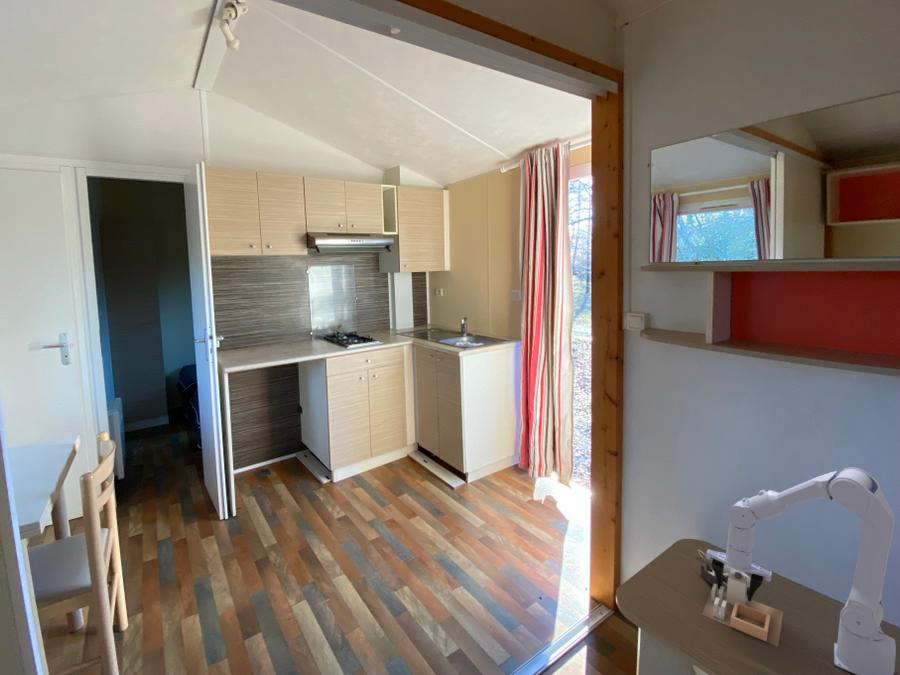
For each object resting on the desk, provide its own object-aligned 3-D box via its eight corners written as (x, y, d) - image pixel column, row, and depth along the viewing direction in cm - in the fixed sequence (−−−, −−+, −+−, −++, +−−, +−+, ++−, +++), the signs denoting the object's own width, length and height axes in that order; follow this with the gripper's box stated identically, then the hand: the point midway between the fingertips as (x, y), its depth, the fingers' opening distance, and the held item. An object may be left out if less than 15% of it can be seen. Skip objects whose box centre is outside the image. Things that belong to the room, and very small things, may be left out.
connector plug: (746, 600, 121) (748, 573, 120) (743, 609, 117) (746, 580, 117) (728, 594, 123) (730, 567, 122) (726, 602, 120) (728, 574, 119)
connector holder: (769, 623, 112) (770, 614, 112) (766, 641, 107) (767, 631, 106) (734, 610, 117) (735, 601, 117) (730, 626, 111) (730, 617, 111)
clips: (729, 601, 120) (730, 589, 120) (723, 620, 114) (724, 607, 113) (713, 594, 123) (714, 583, 122) (706, 612, 116) (707, 600, 116)
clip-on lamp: (689, 567, 142) (712, 592, 124) (687, 546, 142) (709, 568, 125) (729, 567, 140) (758, 593, 122) (727, 546, 140) (755, 568, 123)
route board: (783, 615, 117) (783, 611, 117) (777, 650, 105) (778, 646, 105) (712, 588, 127) (713, 585, 127) (701, 618, 116) (701, 614, 115)
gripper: (774, 550, 117) (769, 598, 119) (711, 529, 126) (707, 574, 128) (772, 563, 112) (766, 612, 114) (706, 540, 121) (701, 586, 123)
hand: (734, 593), depth 120 cm, fingers open, 6 cm apart
